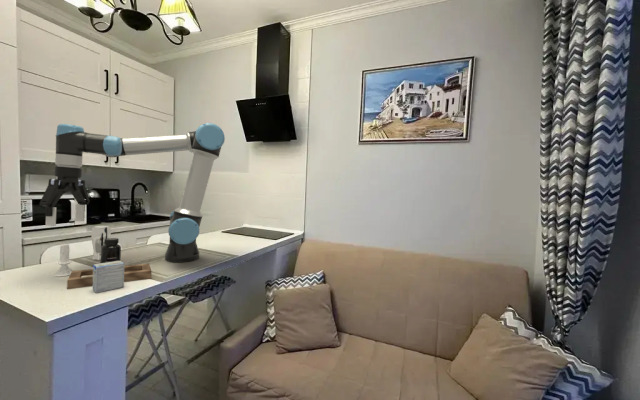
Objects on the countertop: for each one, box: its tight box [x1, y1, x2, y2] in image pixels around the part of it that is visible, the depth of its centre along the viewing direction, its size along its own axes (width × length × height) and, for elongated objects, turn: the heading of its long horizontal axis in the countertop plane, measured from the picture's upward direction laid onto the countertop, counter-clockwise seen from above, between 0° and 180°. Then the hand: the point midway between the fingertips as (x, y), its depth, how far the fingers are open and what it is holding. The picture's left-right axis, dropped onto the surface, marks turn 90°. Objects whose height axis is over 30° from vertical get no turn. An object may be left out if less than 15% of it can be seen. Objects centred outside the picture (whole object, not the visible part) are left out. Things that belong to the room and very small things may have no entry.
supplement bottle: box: [99, 237, 122, 264], centre depth 117 cm, size 7×7×12 cm
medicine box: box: [92, 261, 125, 294], centre depth 95 cm, size 8×4×9 cm, turn 141°
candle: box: [54, 242, 73, 277], centre depth 106 cm, size 5×5×12 cm
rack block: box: [66, 263, 152, 290], centre depth 104 cm, size 24×11×3 cm, turn 125°
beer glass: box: [90, 225, 112, 261], centre depth 128 cm, size 7×7×15 cm
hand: (66, 223), depth 105 cm, fingers open, 13 cm apart
